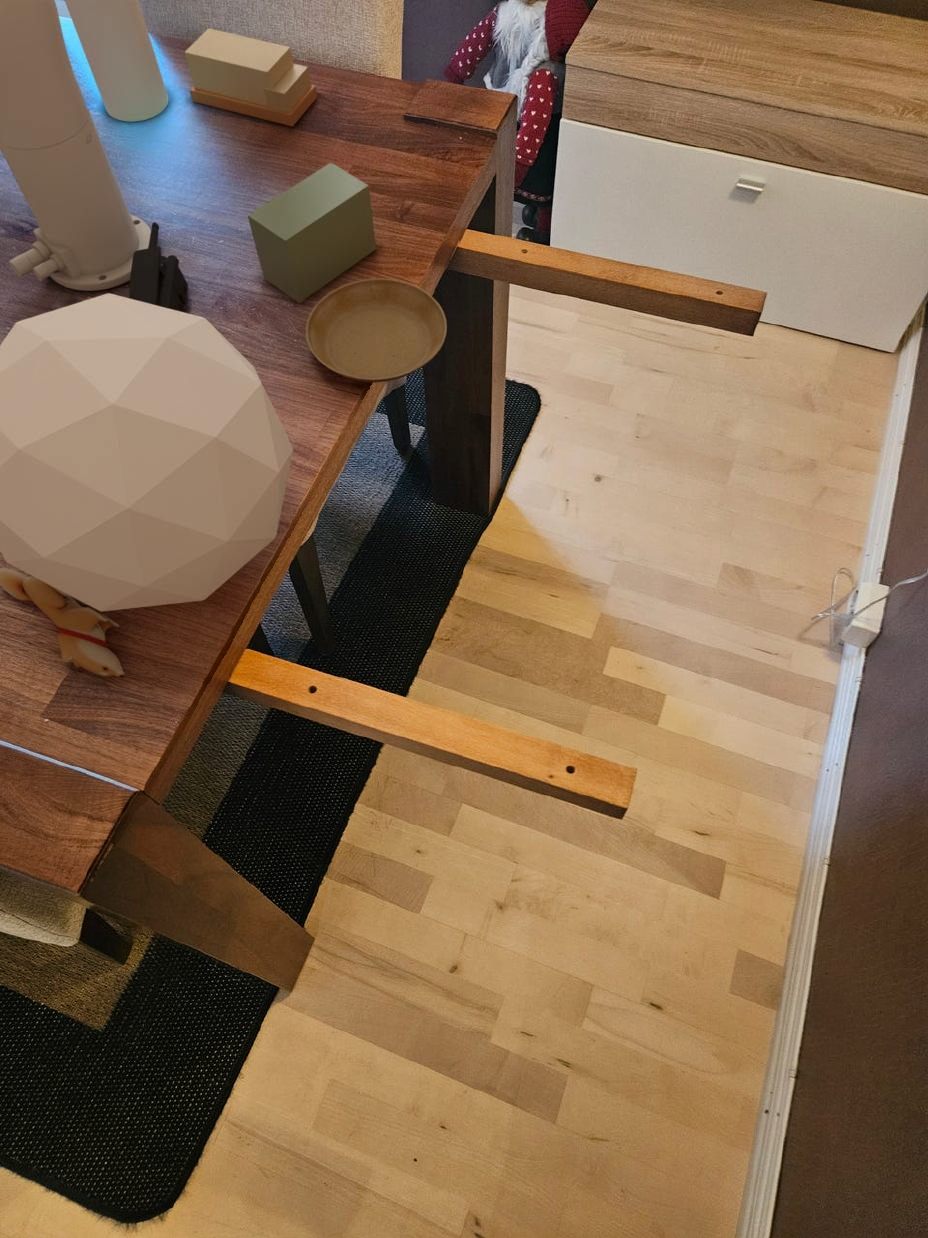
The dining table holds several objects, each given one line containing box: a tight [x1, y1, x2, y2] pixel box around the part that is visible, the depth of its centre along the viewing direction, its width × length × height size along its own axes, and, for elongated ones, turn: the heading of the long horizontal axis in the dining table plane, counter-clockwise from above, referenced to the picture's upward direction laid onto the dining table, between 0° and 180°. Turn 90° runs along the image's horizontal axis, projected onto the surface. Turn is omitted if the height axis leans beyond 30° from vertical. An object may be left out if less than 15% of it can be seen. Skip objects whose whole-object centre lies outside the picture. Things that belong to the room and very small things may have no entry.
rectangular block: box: [247, 162, 377, 304], centre depth 93 cm, size 12×6×8 cm, turn 137°
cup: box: [64, 0, 169, 122], centre depth 104 cm, size 8×8×16 cm
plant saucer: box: [305, 277, 448, 383], centre depth 89 cm, size 15×15×3 cm
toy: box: [0, 567, 125, 679], centre depth 73 cm, size 3×17×5 cm
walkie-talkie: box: [128, 221, 189, 313], centre depth 92 cm, size 6×6×20 cm
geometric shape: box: [0, 292, 294, 612], centre depth 67 cm, size 24×25×25 cm
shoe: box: [184, 27, 318, 127], centre depth 109 cm, size 15×7×6 cm, turn 67°
